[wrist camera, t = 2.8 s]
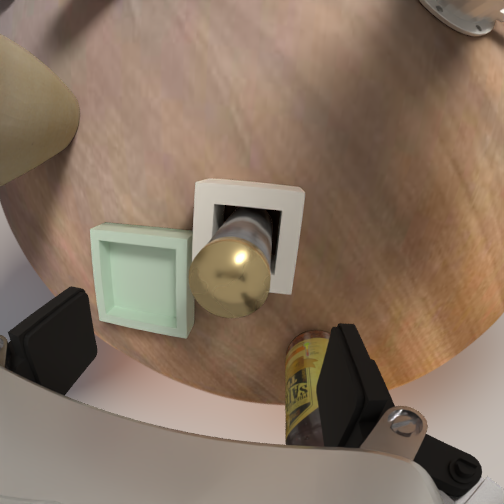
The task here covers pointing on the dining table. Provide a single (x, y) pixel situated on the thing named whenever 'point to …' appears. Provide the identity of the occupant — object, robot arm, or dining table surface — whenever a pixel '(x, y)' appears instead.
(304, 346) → the sauce bottle
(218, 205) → the socket block
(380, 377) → the robot arm
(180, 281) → the tray
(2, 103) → the plant pot
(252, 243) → the pin
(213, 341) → the dining table surface
